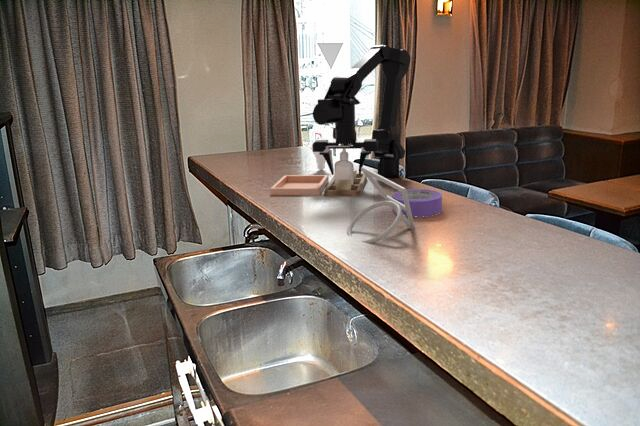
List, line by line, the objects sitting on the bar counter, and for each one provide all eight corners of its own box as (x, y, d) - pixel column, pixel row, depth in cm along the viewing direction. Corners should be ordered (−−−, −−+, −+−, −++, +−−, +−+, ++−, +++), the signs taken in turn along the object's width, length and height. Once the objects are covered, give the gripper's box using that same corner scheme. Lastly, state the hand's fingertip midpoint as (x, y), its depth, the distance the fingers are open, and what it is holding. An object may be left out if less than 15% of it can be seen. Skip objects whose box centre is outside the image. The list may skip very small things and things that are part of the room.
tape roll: (402, 223, 121) (402, 202, 119) (385, 210, 132) (385, 191, 130) (450, 218, 123) (450, 198, 121) (429, 206, 134) (430, 187, 132)
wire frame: (351, 253, 120) (316, 203, 112) (394, 217, 121) (362, 165, 114) (390, 287, 104) (352, 231, 96) (440, 245, 105) (406, 187, 98)
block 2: (356, 181, 165) (356, 168, 164) (355, 184, 161) (355, 171, 160) (344, 181, 166) (343, 168, 165) (342, 184, 162) (342, 171, 161)
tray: (328, 182, 164) (328, 175, 163) (319, 197, 147) (319, 188, 146) (284, 183, 166) (284, 175, 165) (270, 197, 149) (270, 188, 148)
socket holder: (366, 179, 167) (366, 173, 166) (360, 198, 144) (360, 191, 143) (335, 179, 168) (335, 173, 168) (324, 198, 145) (323, 191, 145)
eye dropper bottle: (342, 191, 152) (342, 150, 149) (332, 187, 157) (332, 147, 153) (355, 189, 154) (355, 149, 150) (345, 185, 159) (345, 146, 155)
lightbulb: (330, 171, 181) (328, 139, 178) (312, 172, 181) (310, 140, 178) (330, 168, 186) (329, 137, 183) (312, 169, 187) (311, 138, 184)
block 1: (351, 193, 150) (351, 179, 149) (350, 196, 146) (349, 182, 145) (337, 193, 151) (337, 179, 150) (335, 196, 147) (335, 182, 146)
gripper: (379, 117, 157) (379, 169, 161) (317, 119, 160) (319, 169, 164) (377, 121, 146) (377, 176, 150) (311, 123, 149) (313, 176, 153)
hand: (346, 174), depth 155 cm, fingers open, 8 cm apart
